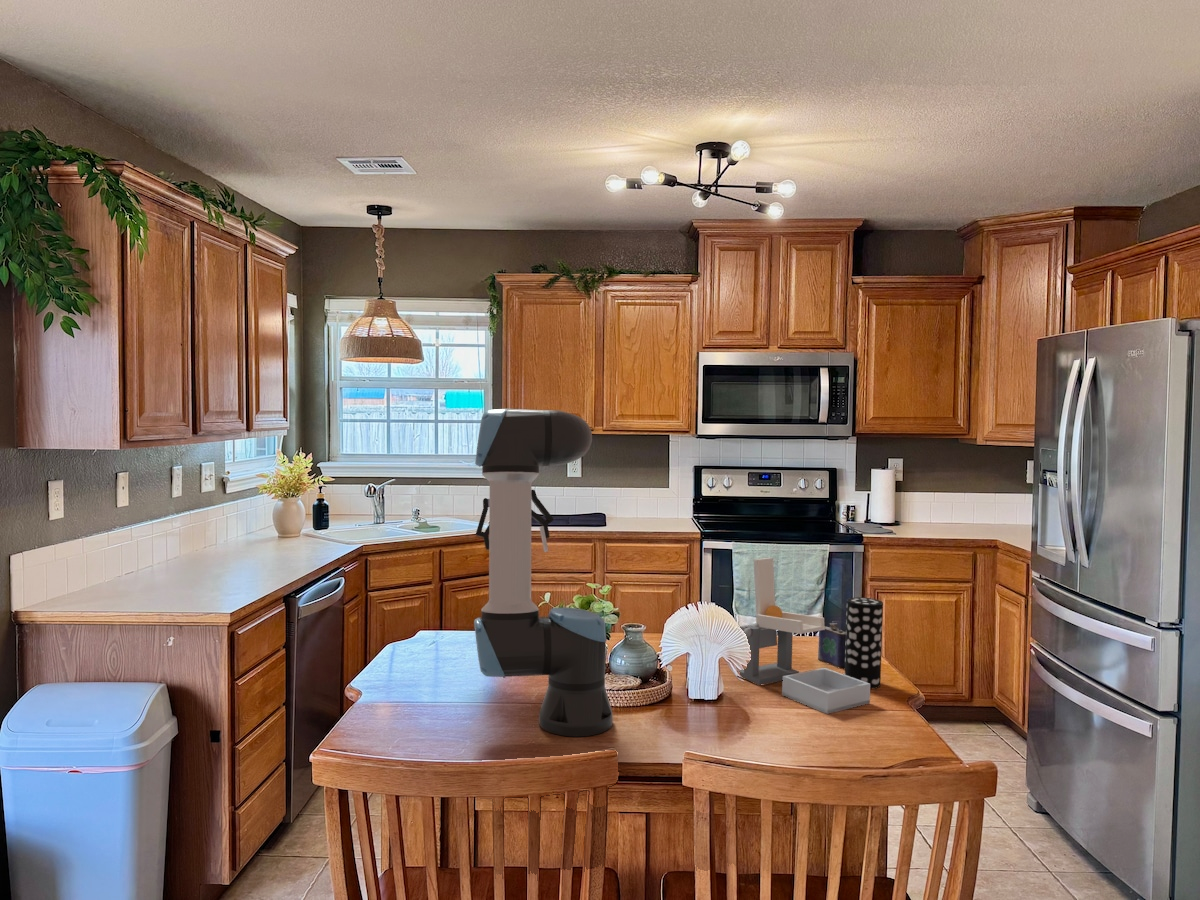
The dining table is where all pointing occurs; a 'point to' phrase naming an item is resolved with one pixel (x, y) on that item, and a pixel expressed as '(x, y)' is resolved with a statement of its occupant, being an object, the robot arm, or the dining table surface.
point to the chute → (767, 599)
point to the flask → (832, 646)
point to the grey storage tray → (826, 690)
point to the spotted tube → (864, 640)
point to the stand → (771, 670)
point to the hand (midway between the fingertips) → (520, 556)
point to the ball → (774, 611)
